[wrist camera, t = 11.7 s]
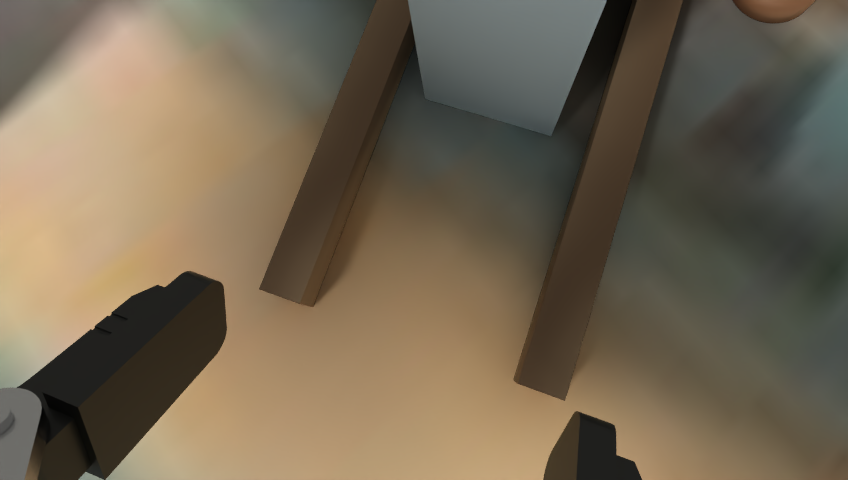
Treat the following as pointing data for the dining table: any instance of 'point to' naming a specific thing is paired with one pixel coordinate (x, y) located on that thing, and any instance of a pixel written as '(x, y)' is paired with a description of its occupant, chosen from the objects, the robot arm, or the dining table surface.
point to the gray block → (503, 55)
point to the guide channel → (590, 200)
